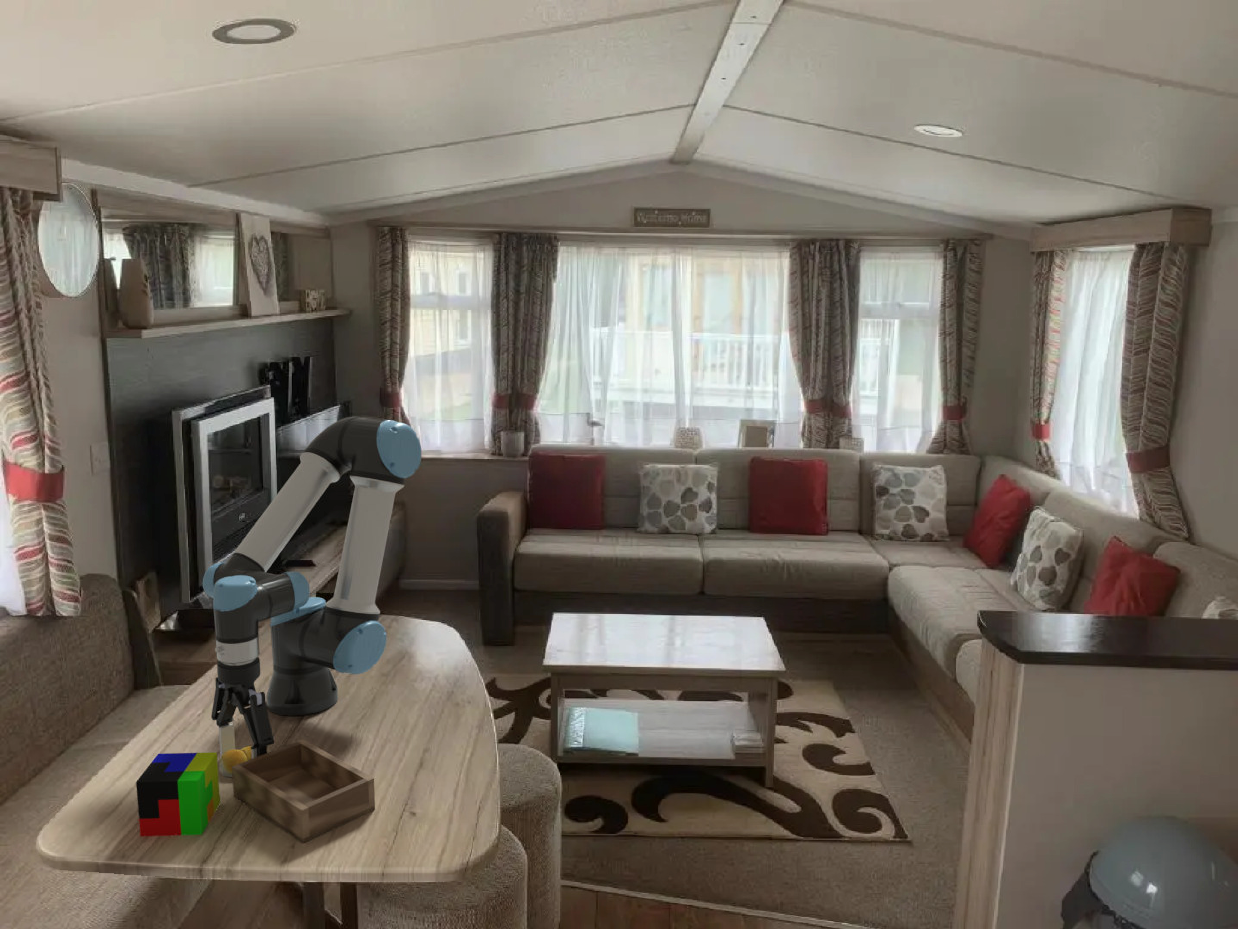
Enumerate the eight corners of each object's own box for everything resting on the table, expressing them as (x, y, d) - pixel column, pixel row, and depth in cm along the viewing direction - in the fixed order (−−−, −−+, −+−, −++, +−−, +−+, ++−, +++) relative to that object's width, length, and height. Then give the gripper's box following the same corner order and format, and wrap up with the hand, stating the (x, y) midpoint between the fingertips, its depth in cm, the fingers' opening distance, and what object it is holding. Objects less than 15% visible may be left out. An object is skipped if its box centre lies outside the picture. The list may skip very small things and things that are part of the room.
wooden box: (233, 797, 179) (231, 766, 178) (303, 768, 190) (302, 739, 189) (303, 843, 165) (301, 810, 164) (375, 809, 176) (374, 778, 175)
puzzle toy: (162, 805, 176) (158, 753, 175) (220, 804, 177) (216, 752, 175) (140, 837, 167) (136, 782, 165) (201, 835, 168) (198, 780, 166)
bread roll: (274, 770, 190) (273, 751, 189) (224, 783, 185) (223, 763, 184) (263, 753, 197) (262, 734, 196) (215, 764, 192) (214, 745, 191)
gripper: (188, 648, 191) (194, 754, 195) (253, 681, 176) (258, 795, 180) (224, 638, 196) (230, 741, 200) (290, 669, 182) (295, 780, 186)
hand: (243, 767), depth 190 cm, fingers open, 11 cm apart
